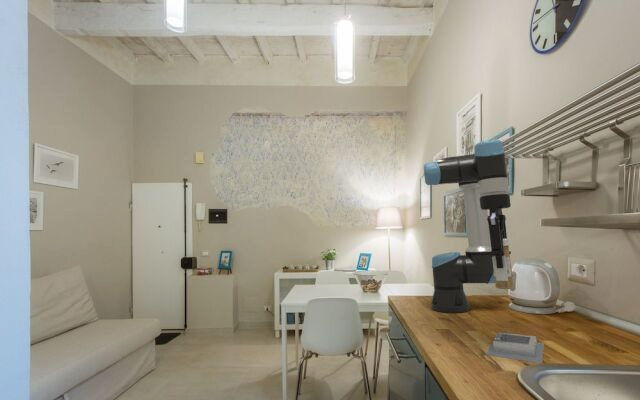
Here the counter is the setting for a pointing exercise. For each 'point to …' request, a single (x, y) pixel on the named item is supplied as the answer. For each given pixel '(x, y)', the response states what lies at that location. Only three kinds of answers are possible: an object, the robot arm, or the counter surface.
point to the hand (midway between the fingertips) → (503, 279)
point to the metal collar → (515, 344)
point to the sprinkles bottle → (508, 283)
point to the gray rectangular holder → (535, 359)
